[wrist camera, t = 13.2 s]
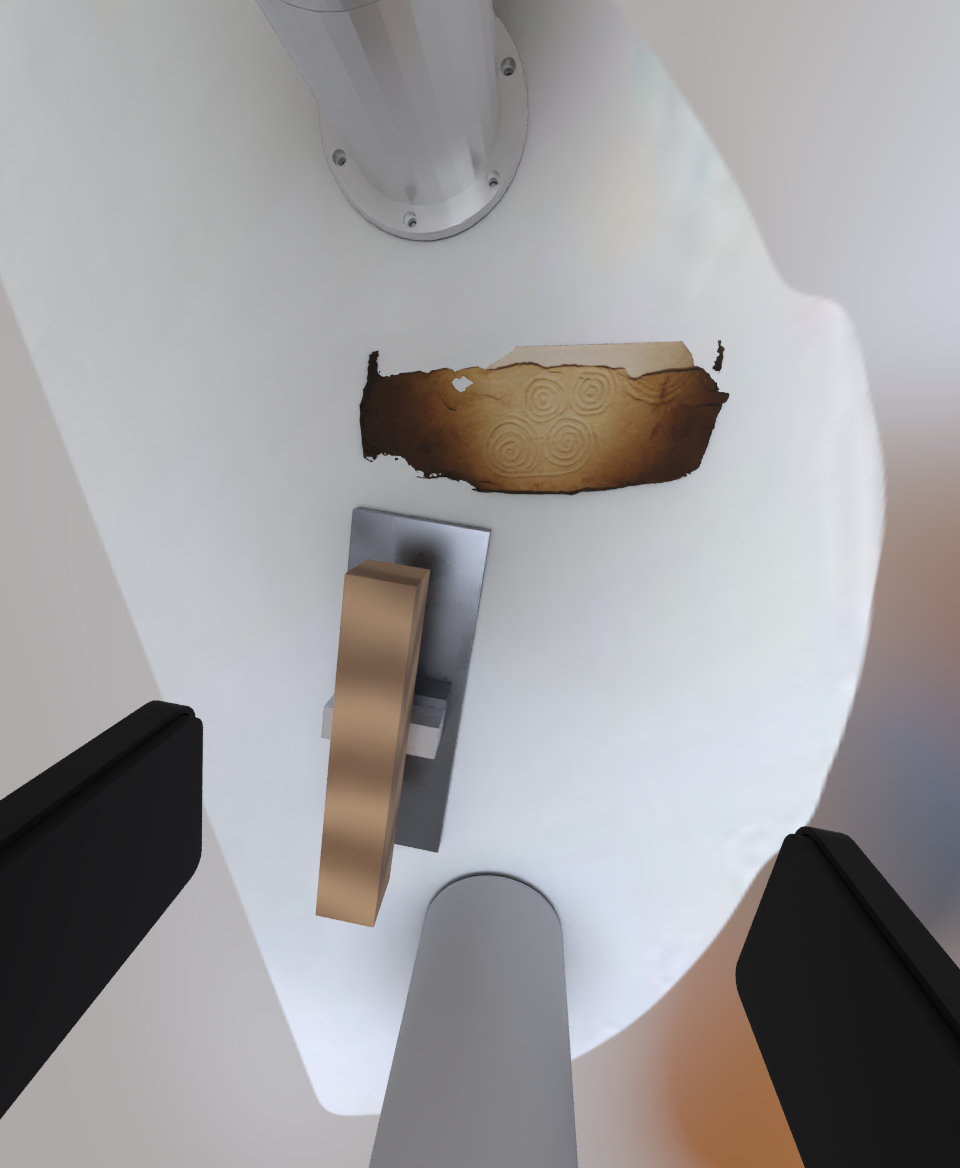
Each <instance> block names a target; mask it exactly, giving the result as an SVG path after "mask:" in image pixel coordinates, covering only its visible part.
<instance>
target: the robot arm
mask: <svg viewBox="0 0 960 1168" xmlns="http://www.w3.org/2000/svg"><path fill="white" fill-rule="evenodd" d="M256 2H257V3H258V5H259V7H260V8H261V10H262V12H263V13H264V15H265V17H266V18H267V20H268V21H269V23H270V25H271V26H272V28H273V30H274V31H275V33H276V35H277V36H278V38H279V39H280V41H281V43H282V44H283V46H284V48H285V49H286V51H287V52H288V54H289V56H290V57H291V59H292V61H293V62H294V64H295V66H296V67H297V69H298V70H299V72H300V74H301V75H302V77H303V79H304V80H305V82H306V84H307V85H308V87H309V88H310V90H311V92H312V93H313V95H314V97H315V98H316V100H317V101H318V103H319V127H320V133H321V138H322V144H323V149H324V152H325V155H326V158H327V161H328V164H329V166H330V169H331V171H332V173H333V175H334V177H335V179H336V181H337V183H338V184H339V186H340V188H341V190H342V191H343V192H344V194H345V195H346V197H347V198H348V199H349V201H350V202H351V204H352V205H353V206H354V207H355V208H356V209H357V210H358V211H359V212H360V213H361V214H362V215H363V216H364V217H365V218H366V219H367V220H369V221H370V222H372V223H373V224H374V225H376V226H377V227H379V228H380V229H382V230H384V231H386V232H389V233H391V234H393V235H396V236H398V237H402V238H407V239H412V240H436V239H440V238H444V237H448V236H452V235H455V234H457V233H459V232H461V231H463V230H465V229H467V228H469V227H471V226H472V225H474V224H475V223H476V222H478V221H479V220H480V219H481V218H483V217H484V216H485V215H487V214H488V212H489V211H490V210H491V209H492V208H493V207H494V206H495V205H496V203H497V202H498V201H499V200H500V199H501V197H502V196H503V194H504V193H505V191H506V189H507V188H508V186H509V185H510V183H511V181H512V179H513V177H514V175H515V172H516V170H517V167H518V165H519V162H520V160H521V156H522V152H523V148H524V143H525V139H526V132H527V117H528V104H527V87H526V81H525V76H524V70H523V65H522V63H521V60H520V57H519V54H518V51H517V48H516V46H515V43H514V41H513V40H512V38H511V36H510V34H509V33H508V31H507V29H506V27H505V26H504V24H503V22H502V21H501V20H500V19H499V18H498V17H497V15H496V14H495V13H494V12H493V2H492V0H256ZM507 73H511V74H512V75H510V76H506V74H507ZM344 161H346V162H345V163H344V164H343V165H342V166H341V163H342V162H344ZM493 181H495V182H497V183H498V184H497V185H496V186H493V187H491V186H490V183H491V182H493ZM413 221H414V222H416V225H415V226H414V227H411V228H410V223H411V222H413ZM202 766H203V724H202V721H201V719H199V718H196V717H195V712H194V711H193V709H192V708H191V707H189V706H184V705H179V704H174V703H168V702H163V701H158V700H157V701H151V702H149V703H147V704H145V705H144V706H142V707H140V708H139V709H137V710H136V711H134V712H133V713H131V714H130V715H128V716H127V717H126V718H124V719H122V720H121V721H120V722H118V723H116V724H115V725H113V726H112V727H110V728H109V729H107V730H106V731H104V732H103V733H101V734H100V735H98V736H97V737H95V738H94V739H92V740H91V741H89V742H88V743H86V744H85V745H84V746H82V747H80V748H79V749H77V750H76V751H74V752H73V753H71V754H70V755H68V756H67V757H65V758H64V759H62V760H61V761H59V762H57V763H56V764H54V765H53V766H51V767H50V768H48V769H47V770H45V771H44V772H43V773H41V774H39V775H38V776H36V777H35V778H34V779H32V780H30V781H29V782H27V783H26V784H24V785H23V786H21V787H20V788H18V789H17V790H15V791H14V792H12V793H11V794H9V795H8V796H6V797H5V798H3V799H2V800H0V1119H1V1118H2V1117H3V1115H4V1114H5V1113H6V1111H7V1110H8V1109H9V1108H10V1106H11V1105H12V1104H13V1102H14V1101H15V1100H16V1099H17V1097H18V1096H19V1095H20V1094H21V1092H22V1091H23V1090H24V1089H25V1087H26V1086H27V1085H28V1084H29V1082H30V1081H31V1080H32V1079H33V1077H34V1076H35V1074H36V1073H37V1072H38V1071H39V1070H40V1068H41V1067H42V1066H43V1065H44V1063H45V1062H46V1061H47V1060H48V1058H49V1057H50V1056H51V1054H52V1053H53V1052H54V1051H55V1050H56V1048H57V1047H58V1046H59V1044H60V1043H61V1042H62V1041H63V1039H64V1038H65V1037H66V1036H67V1034H68V1033H69V1032H70V1031H71V1029H72V1028H73V1027H74V1025H75V1024H76V1023H77V1022H78V1020H79V1019H80V1018H81V1016H82V1015H83V1014H84V1013H85V1011H86V1010H87V1009H88V1008H89V1006H90V1005H91V1004H92V1003H93V1001H94V1000H95V999H96V997H97V996H98V995H99V994H100V993H101V991H102V990H103V989H104V988H105V986H106V985H107V984H108V982H109V981H110V980H111V978H112V977H113V976H114V975H115V974H116V972H117V971H118V969H120V967H121V966H122V965H123V964H124V962H125V961H126V960H127V958H128V957H129V956H130V955H131V953H132V952H133V951H134V950H135V948H136V947H137V946H138V945H139V943H140V942H141V941H142V940H143V938H144V937H145V936H146V934H147V933H148V932H149V931H150V929H151V928H152V927H153V926H154V924H155V923H156V922H157V921H158V919H159V918H160V917H161V915H162V914H163V913H164V912H165V910H166V909H167V908H168V907H169V905H170V904H171V903H172V902H173V900H174V899H175V898H176V897H177V895H178V894H179V893H180V891H181V890H182V889H183V888H184V886H185V885H186V884H187V883H188V881H189V880H190V879H191V877H192V876H193V874H194V873H195V871H196V869H197V867H198V864H199V861H200V858H201V851H202ZM736 985H737V990H738V993H739V996H740V999H741V1002H742V1004H743V1007H744V1009H745V1012H746V1015H747V1017H748V1020H749V1022H750V1025H751V1028H752V1030H753V1033H754V1036H755V1038H756V1041H757V1043H758V1046H759V1049H760V1051H761V1054H762V1056H763V1059H764V1062H765V1064H766V1067H767V1070H768V1072H769V1075H770V1077H771V1080H772V1083H773V1085H774V1088H775V1091H776V1093H777V1096H778V1098H779V1101H780V1104H781V1106H782V1109H783V1111H784V1114H785V1117H786V1119H787V1122H788V1125H789V1127H790V1130H791V1132H792V1135H793V1138H794V1140H795V1143H796V1145H797V1148H798V1151H799V1153H800V1156H801V1159H802V1161H803V1164H804V1166H805V1168H960V969H959V968H958V967H957V965H956V964H955V963H954V962H953V961H952V959H951V958H950V957H949V956H948V954H947V953H946V952H945V951H944V950H943V948H942V947H941V946H940V945H939V944H938V943H937V941H936V940H935V939H934V937H933V936H932V935H931V934H930V933H929V931H928V930H927V929H926V928H925V927H924V925H923V924H922V923H921V922H920V920H919V919H918V918H917V917H916V916H915V914H914V913H913V912H912V911H911V910H910V908H909V907H908V906H907V905H906V904H905V902H904V901H903V900H902V899H901V898H900V896H899V895H898V894H897V893H896V892H895V890H894V889H893V888H892V887H891V886H890V884H889V883H888V882H887V881H886V879H885V878H884V877H883V876H882V874H881V873H880V872H879V871H878V870H877V868H876V867H875V866H874V865H873V864H872V863H871V861H870V860H869V859H868V858H867V856H866V855H865V854H864V853H863V851H862V850H861V849H860V848H859V847H858V845H857V844H856V843H855V842H854V841H853V840H852V839H851V838H850V837H849V836H848V835H845V834H843V833H839V832H833V831H828V830H823V829H818V828H813V827H807V826H805V827H801V828H799V829H798V830H797V831H796V833H795V834H789V835H788V836H786V838H785V839H784V841H783V844H782V846H781V849H780V852H779V854H778V857H777V860H776V862H775V865H774V867H773V870H772V873H771V875H770V878H769V880H768V883H767V886H766V888H765V891H764V894H763V897H762V899H761V901H760V904H759V907H758V909H757V912H756V915H755V917H754V920H753V922H752V925H751V928H750V930H749V933H748V936H747V938H746V941H745V943H744V946H743V949H742V951H741V954H740V957H739V960H738V962H737V966H736Z"/></svg>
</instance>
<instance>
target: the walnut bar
mask: <svg viewBox="0 0 960 1168" xmlns="http://www.w3.org/2000/svg"><path fill="white" fill-rule="evenodd" d="M429 575H430V570H428V569H422V568H417V567H411V566H405V565H399V564H394V563H388V562H382V561H376V560H371V559H367V560H365V561H364V562H362V563H361V564H359V565H358V566H356V567H355V568H353V569H352V570H350V571H349V572H347V573H346V574H345V579H344V591H343V603H342V614H341V626H340V637H339V649H338V661H337V672H336V684H335V696H334V707H333V719H332V731H331V742H330V754H329V765H328V777H327V789H326V800H325V812H324V824H323V835H322V847H321V858H320V870H319V882H318V893H317V905H316V915H317V916H322V917H327V918H331V919H336V920H341V921H346V922H350V923H355V924H360V925H364V926H369V927H374V924H375V921H376V918H377V915H378V912H379V909H380V906H381V903H382V900H383V897H384V894H385V891H386V888H387V885H388V882H389V878H390V870H391V863H392V855H393V847H394V840H395V832H396V825H397V817H398V810H399V802H400V794H401V787H402V779H403V772H404V764H405V757H406V749H407V741H408V734H409V726H410V719H411V711H412V704H413V696H414V688H415V681H416V673H417V666H418V658H419V651H420V643H421V635H422V628H423V620H424V613H425V605H426V598H427V590H428V583H429Z"/></svg>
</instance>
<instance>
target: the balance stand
mask: <svg viewBox="0 0 960 1168" xmlns="http://www.w3.org/2000/svg"><path fill="white" fill-rule="evenodd" d="M490 533H491V530H488V529H483V528H477V527H471V526H465V525H459V524H453V523H447V522H441V521H436V520H430V519H424V518H418V517H412V516H406V515H400V514H394V513H388V512H383V511H377V510H371V509H365V508H359V507H358V508H355V509H353V515H352V526H351V537H350V549H349V560H348V571H347V572H349V571H350V570H352V569H353V568H355V567H356V566H358V565H359V564H361V563H362V562H364V561H365V560H367V559H371V560H376V561H382V562H388V563H394V564H399V565H405V566H411V567H417V568H422V569H428V570H430V575H429V583H428V590H427V598H426V605H425V613H424V620H423V628H422V635H421V643H420V651H419V658H418V666H417V673H416V681H415V688H414V696H413V704H412V711H411V719H410V726H409V734H408V741H407V749H406V757H405V764H404V772H403V779H402V787H401V794H400V802H399V810H398V817H397V825H396V832H395V840H394V844H398V845H403V846H408V847H413V848H417V849H422V850H427V851H432V852H437V853H438V850H439V846H440V841H441V835H442V829H443V823H444V817H445V810H446V804H447V798H448V792H449V786H450V780H451V773H452V767H453V761H454V755H455V749H456V743H457V737H458V730H459V724H460V718H461V712H462V706H463V700H464V693H465V687H466V681H467V675H468V669H469V663H470V656H471V650H472V644H473V638H474V632H475V626H476V619H477V613H478V607H479V601H480V595H481V589H482V582H483V576H484V570H485V564H486V558H487V552H488V546H489V539H490ZM334 696H335V694H334V695H333V696H332V697H331V699H330V700H329V701H328V702H327V704H326V705H325V706H324V712H323V724H322V736H321V737H322V738H327V739H331V731H332V719H333V707H334Z"/></svg>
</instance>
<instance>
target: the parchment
mask: <svg viewBox="0 0 960 1168" xmlns="http://www.w3.org/2000/svg"><path fill="white" fill-rule="evenodd" d="M718 343H719V344H718V346H719V348H718V350H717V352H718V353H720V355H719V356H718V357H717V360H716V361H714V362H715V365H714V366H713V369H714V370H715V371H720V370H721V367H722V360H723V351H724V349H725V348H724V347H722V346H721V345H720V344H721V340H719V341H718ZM378 356H379V354H378V351H375V352H372V354H370V355H369V361H368V363H369V366H368V376H367V383H366V386H365V388H364V389H363V398H362V401H361V403H360V427H361V435H362V447H363V455H364V458H365V459H367V458H366V457H367V456H368V457H373V459H374V460H375V459H376V458H377V456H376V455H378V454H379V455H380V453H382V454H383V455H384V456H386V455H388V454H389V455H391V456H401V457H402V458H405V459H406V461H407V462H408V465H410V464H411V466H412V467H413V468H415V471H418V470H419V471H422V472H424V476H425V477H419V476H417V477H419V478H428V479H430V478H438V477H448V478H449V479H452V480H457V481H458V482H459V480H463V481H467V482H468V483H470V485H472V486H474V487H475V488H476V489H472V490H474V491H475V490H477V491H478V492H485V493H486V492H499V493H506V494H507V493H508V494H567V495H573V494H577V493H579V492H582V491H585V492H586V491H589V492H590V491H606V490H611V489H617V488H624V487H627V486H636V485H641V484H651V483H654V484H656V483H662V482H669V481H672V480H676V479H679V478H681V477H682V476H684V477H686V476H687V475H686V473H689V474H691V473H690V472H692V471H694V470H696V469H698V468H699V466H700V464H701V460H702V458H703V455H704V454H705V451H706V448H707V446H708V443H709V440H710V436H711V434H712V430H713V429H714V427H715V422H716V418H717V416H718V413H719V412H720V410H721V407H722V404H723V403H725V402H726V401H727V399H728V398H729V393H724V392H718V391H717V390H719V389H718V387H717V383H715V381H714V380H713V379H712V378H711V377H710V375H709V373H707V372H706V371H705V370H704V369H703V368H700V367H699V366H694V362H693V358H692V354H691V353H690V351H689V350H688V349H687V347H686V346H685V344H684V343H683V342H682V341H680V342H648V343H629V344H628V343H626V344H609V345H608V344H601V345H599V344H591V345H565V346H562V345H560V346H537V347H536V346H524V347H520V346H518V347H516V348H514V350H513V352H510V353H509V354H508V355H507V356H505V357H504V358H502V359H501V360H499V361H497V362H496V363H494V364H492V365H491V366H489V367H488V368H486V369H483V368H479V366H478V367H470V368H465V369H462V370H459V371H456V372H454V371H453V370H452V369H448V368H442V369H439V370H432V371H431V372H429V373H425V372H422V371H415V372H408V373H400V374H398V375H390V377H388V376H385V377H382V376H380V375H379V374H378V371H377V368H378V363H377V362H376V360H377V357H378ZM379 373H380V371H379ZM718 373H719V372H718ZM463 375H464V376H465V377H466V378H467V379H469V380H471V381H472V382H474V383H473V384H472V385H470V386H469V387H467V388H466V390H465V391H463V392H459V391H458V390H456V389H455V387H454V386H453V384H452V381H453V380H454V379H455V378H459V379H460V378H461V377H462V376H463ZM362 406H363V407H362ZM384 453H386V455H385V454H384ZM367 460H369V459H367ZM395 460H398V458H395ZM369 461H370V460H369ZM370 462H372V461H370ZM432 473H435V474H437V476H436V477H434V476H433V474H432ZM439 473H441V475H439ZM430 474H432V477H430V476H429V475H430Z"/></svg>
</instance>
